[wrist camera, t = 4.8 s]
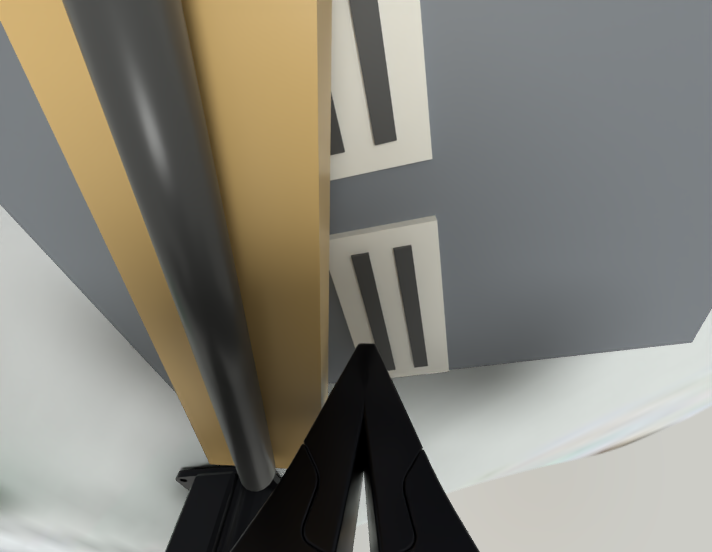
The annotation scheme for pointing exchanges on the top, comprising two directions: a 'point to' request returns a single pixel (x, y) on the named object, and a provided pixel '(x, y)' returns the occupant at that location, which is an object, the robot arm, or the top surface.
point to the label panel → (469, 182)
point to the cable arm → (205, 194)
